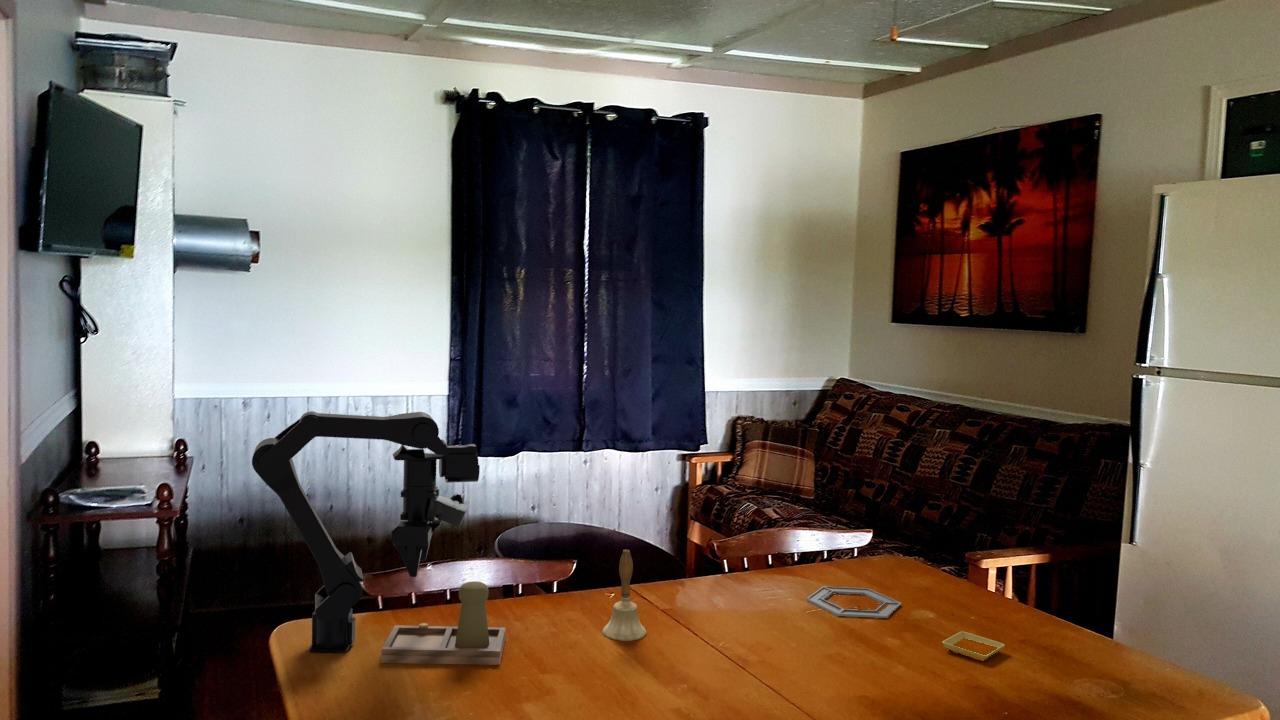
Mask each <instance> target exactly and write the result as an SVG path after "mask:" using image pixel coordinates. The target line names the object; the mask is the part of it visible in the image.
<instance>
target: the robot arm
mask: <svg viewBox="0 0 1280 720" xmlns="http://www.w3.org/2000/svg"><path fill="white" fill-rule="evenodd" d="M439 429H440V428H439V427H438V424H437V422H436V420H435V419H433V417H432V416H431V415H429V413H427V412H423V411H416V412H405V413H399V414H395V415H388V416H376V415H375V416H374V415H373V416H372V415H357V414H356V415H355V414H343V413H342V414H338V413H337V414H336V413H320V412H316V411H313V410H312V411H311V410H310V411H306V412H305V413H303V414H302V415H300V418H298V419H297V420H296V421H295V422H293V423H292V424H290V425H289V426H287V427H286V428H284V430H282V431H280V433H278V434H277V435H276V436H275V437H268V438H265V439H263V440H261V441H260V442H258V444H257V445H256V447H255V448H254V451H253V455H252V458H251V465H252V468H253V470H254V472H255V473H256V474H257V475H258V476H259V477H260V479H261V480H262V481H263V482H264V483H265V485H267V486H268V487H269V488H270V490H272V491H273V492H274V493H275V494H276V495H277V496H278V497H279V498H280V500H281V501H280V502H282V504H283V505H284V507H285V509H286V511H287V513H288V514H289V516H290V518H291V520H292V522H293V524H295V527H296V528H297V530H298V532H299V533H300V535H301V538H302V539H303V541H304V542H305V544H306V545H307V547H308V549H309V551H310V552H311V555H312V556H313V558H314V560H315V561H316V563H317V566H318V568H319V572H320V575H321V579H322V583H323V585H322V587H321V588H319V590H317V592H315V594H314V602H315V603H314V607H315V609H314V611H313V612H312V614H311V644H310V646H309V647H308V652H315V653H317V652H318V653H319V652H320V653H321V652H322V653H346V652H347V651H348V650H349V648H350V647H351V645H353V643H354V641H355V640H356V620H357V619H356V617H355V616H354V617H353V608H352V607H354V606H355V605H356V604H357V603H358V602H360V600H361V597H362V596H363V592H364V591H363V584H362V582H364V576H363V571H362V568H361V567H360V566H358V564H357V563H356V561H355V559H354V558H355V557H354V556H353V553H352V552H351V551H350V552H348V553H347V554H346V555H344V554H343V553H342V552H341V551H340V550H339V549H338V548H337V547H336V545H335V543H334V541H333V539H332V537H331V536H330V535H329V533H328V531H327V528H326V527H325V526H324V524H323V522H322V520H321V519H320V517H319V515H318V513H317V511H316V510H315V508H314V506H313V504H312V503H311V501H310V499H309V497H308V495H307V494H306V491H304V489H303V487H302V485H301V483H300V481H299V477H298V474H297V470H296V468H295V467H296V466H295V464H294V460H293V458H294V457H295V456H296V455H297V454H298V453H299V452H300V451H302V450H303V448H304V447H305V446H307V445H308V444H309V443H310V442H311V441H312V440H313V439H314V438H317V437H318V438H319V437H320V438H321V437H322V438H336V439H337V438H340V439H341V438H342V439H362V440H383V441H388V442H392V443H395V444H398V445H400V447H399V448H398V449H397V450H396V451H395V452H393V453H392V456H393V459H394V461H403V481H402V482H403V485H402V486H403V488H402V490H401V491H400V498H402V512H401V513H400V518H399V520H400V522H399V523H397V524H396V525H395V526H394V528H393V529H392V530H391V543H392V544H393V546H395V548H396V549H397V552H398V553H399V556H400V558H401V560H402V561H403V564H404V566H405V568H406V571H407V573H408V575H409V577H410V578H411V577H412V578H417V576H418V570H419V566H420V562H426V560H427V556H428V552H429V549H430V544H431V541H432V540H431V539H432V536H433V532H434V531H435V530H436V529H438V527H439V526H440V525H441V524H442V522H444V523H448V524H450V525H451V526H453V527H456V528H460V527H461V525H462V523H463V521H464V518H465V516H466V514H467V512H468V508H469V506H468V504H467V503H465V500H464V498H465V497H464V495H463V494H460V493H458V492H455V493H454V494H453V495H452V496H451V497H450V498H449V496H443V495H441V494H440V488H439V487H438V486H437V460H438V475H439V478H444V480H445V483H447V484H449V483H452V484H453V483H472V482H473V483H475V482H476V483H477V482H478V481H479V478H480V469H481V468H480V464H479V457H478V456H479V455H478V446H477V445H476V444H475V443H468V444H465V445H447V443H446V441H445V440H444V439H441V438H440V437H439V434H440V433H439V432H440V431H439ZM407 447H410V448H407ZM426 449H428V450H429V451H431V452H432V453H429V452H428V453H427V452H425V450H426Z"/></svg>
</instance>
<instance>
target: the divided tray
mask: <svg viewBox="0 0 1280 720" xmlns="http://www.w3.org/2000/svg"><path fill="white" fill-rule="evenodd" d="M457 629H458V626H445V625H444V626H443V625H442V626H441V625H429V624H428V623H425V622H423V623H420V624H418V625H394V626H393V628H392V630H391V631H390V633H389V635H388V637H387V639H386V640H385V643H384V644H383V646H382V648H381V655H380V663H381V664H421V665H422V664H426V665H427V664H429V665H431V664H434V665H479V666H481V665H482V666H483V665H484V666H485V665H487V666H488V665H489V666H496V665H497V666H500V664H501V661H502V660H501V659H502V654H503V650H504V646H505V642H506V639H507V638H506V629H507V628H506V627H500V626H499V627H498V626H493V627H491V626H488V634H489V646H488V647H486V648H485V649H475V648H457V647H456V646H455V642H456V635H457Z"/></svg>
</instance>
